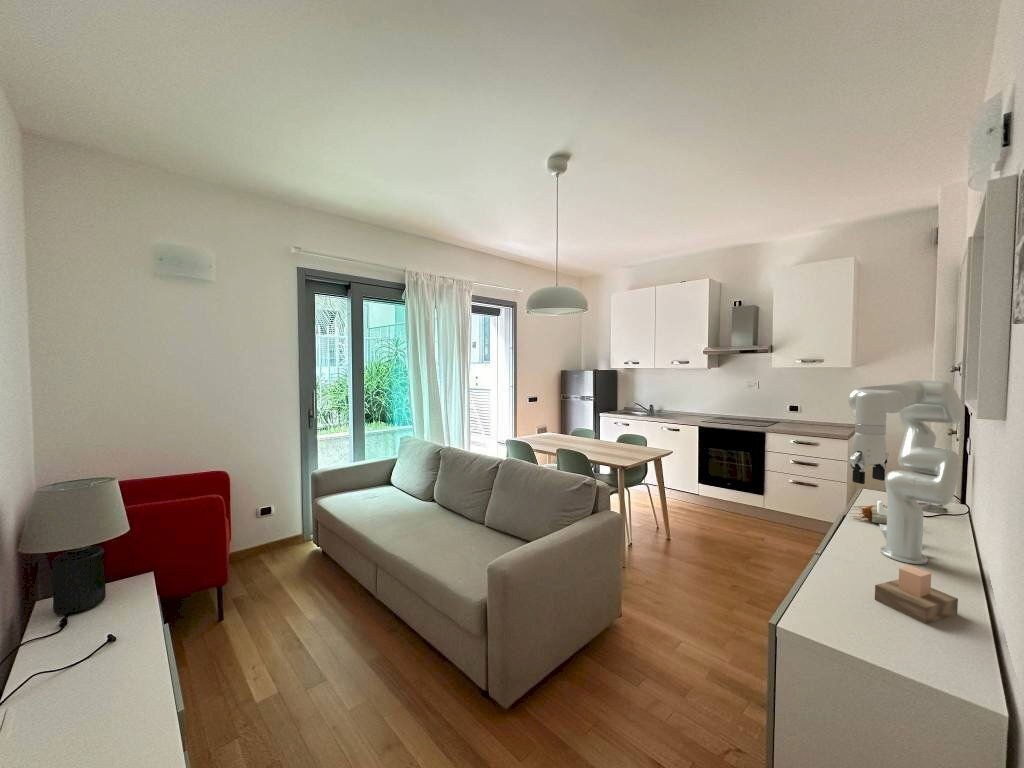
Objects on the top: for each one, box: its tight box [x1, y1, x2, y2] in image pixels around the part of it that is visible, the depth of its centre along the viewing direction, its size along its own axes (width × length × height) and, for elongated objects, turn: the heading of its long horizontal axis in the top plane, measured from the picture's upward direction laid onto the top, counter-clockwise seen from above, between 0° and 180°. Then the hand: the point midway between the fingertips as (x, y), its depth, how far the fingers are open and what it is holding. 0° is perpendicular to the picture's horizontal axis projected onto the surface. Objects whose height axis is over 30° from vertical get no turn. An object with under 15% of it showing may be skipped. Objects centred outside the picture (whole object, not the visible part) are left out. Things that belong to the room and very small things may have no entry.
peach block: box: [898, 565, 932, 597], centre depth 118 cm, size 5×5×6 cm
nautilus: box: [850, 504, 887, 525], centre depth 182 cm, size 8×22×15 cm
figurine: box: [876, 500, 887, 539], centre depth 164 cm, size 7×9×15 cm
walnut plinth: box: [874, 578, 959, 625], centre depth 118 cm, size 14×12×5 cm
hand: (868, 481), depth 133 cm, fingers open, 9 cm apart
